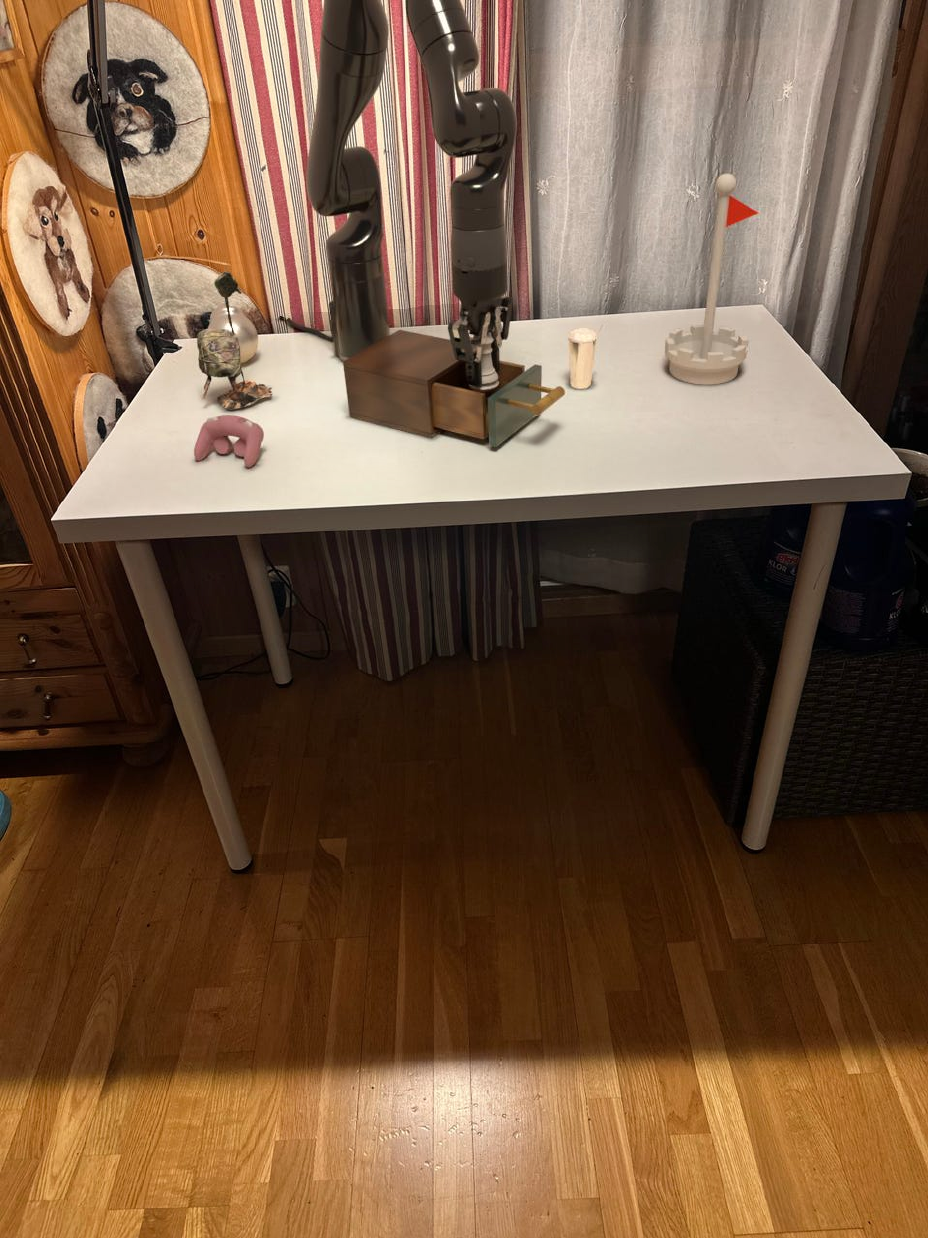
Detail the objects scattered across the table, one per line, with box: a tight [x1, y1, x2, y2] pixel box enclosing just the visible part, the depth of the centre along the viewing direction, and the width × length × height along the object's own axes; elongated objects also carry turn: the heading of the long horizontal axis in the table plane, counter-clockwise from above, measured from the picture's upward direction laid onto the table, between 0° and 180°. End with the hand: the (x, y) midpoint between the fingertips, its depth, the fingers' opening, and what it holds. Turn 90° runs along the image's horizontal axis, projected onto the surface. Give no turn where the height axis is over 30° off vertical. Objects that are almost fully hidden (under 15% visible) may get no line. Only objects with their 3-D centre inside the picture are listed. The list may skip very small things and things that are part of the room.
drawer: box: [431, 360, 566, 448], centre depth 136 cm, size 20×13×7 cm, turn 57°
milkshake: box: [567, 324, 604, 390], centre depth 147 cm, size 4×5×10 cm
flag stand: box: [664, 173, 759, 386], centre depth 143 cm, size 13×13×30 cm
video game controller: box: [193, 414, 265, 468], centre depth 134 cm, size 10×5×7 cm, turn 71°
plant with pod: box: [194, 270, 273, 411], centre depth 145 cm, size 8×11×20 cm
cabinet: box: [342, 329, 474, 439], centre depth 143 cm, size 16×15×9 cm
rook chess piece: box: [469, 331, 499, 392], centre depth 134 cm, size 4×4×8 cm
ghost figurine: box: [207, 303, 259, 365], centre depth 161 cm, size 9×10×10 cm
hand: (483, 378), depth 135 cm, fingers closed on rook chess piece, 4 cm apart
